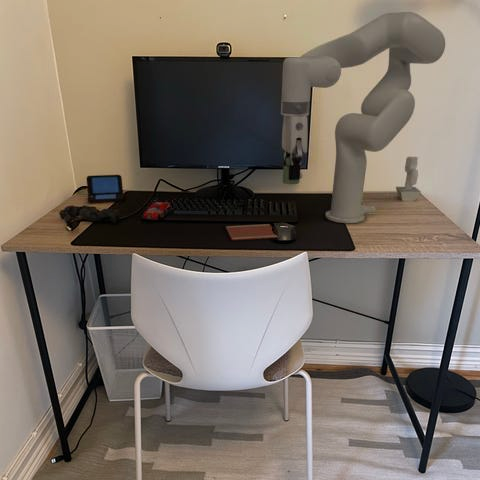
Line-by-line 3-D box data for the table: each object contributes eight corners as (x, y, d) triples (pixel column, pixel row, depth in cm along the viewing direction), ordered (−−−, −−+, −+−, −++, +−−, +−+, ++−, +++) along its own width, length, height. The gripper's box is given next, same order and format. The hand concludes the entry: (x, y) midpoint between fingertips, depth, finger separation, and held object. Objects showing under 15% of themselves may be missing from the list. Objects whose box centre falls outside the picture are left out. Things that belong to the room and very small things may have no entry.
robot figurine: (129, 215, 161) (73, 210, 165) (128, 202, 159) (72, 197, 162) (105, 233, 146) (45, 226, 149) (104, 219, 144) (42, 212, 147)
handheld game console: (87, 203, 171) (84, 182, 168) (89, 196, 181) (86, 175, 177) (124, 201, 174) (121, 180, 170) (123, 194, 183) (121, 174, 180)
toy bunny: (299, 180, 143) (301, 149, 139) (304, 183, 139) (306, 152, 135) (280, 180, 142) (282, 149, 138) (285, 184, 138) (286, 153, 134)
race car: (156, 223, 153) (155, 210, 151) (140, 221, 155) (139, 208, 153) (174, 211, 164) (173, 199, 162) (160, 209, 166) (159, 198, 164)
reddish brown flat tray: (269, 224, 152) (269, 223, 152) (279, 237, 142) (279, 236, 142) (225, 227, 150) (225, 226, 150) (231, 240, 140) (231, 239, 140)
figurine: (400, 202, 175) (407, 159, 168) (393, 195, 183) (399, 154, 176) (420, 202, 175) (428, 159, 168) (412, 195, 184) (419, 154, 176)
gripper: (318, 112, 124) (313, 184, 133) (299, 105, 139) (295, 170, 148) (290, 112, 123) (286, 185, 132) (273, 105, 138) (271, 171, 147)
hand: (291, 176), depth 140 cm, fingers closed on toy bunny, 4 cm apart
